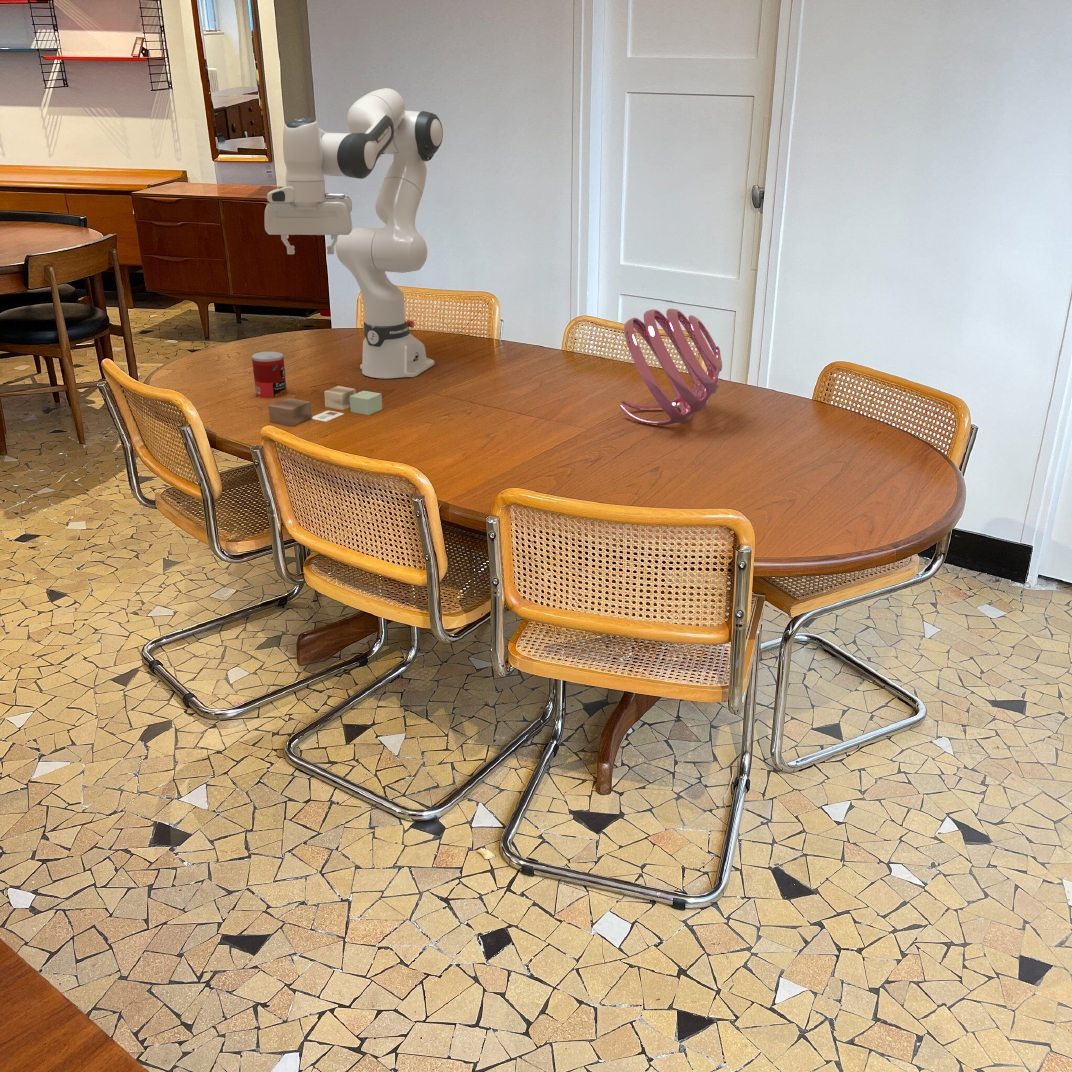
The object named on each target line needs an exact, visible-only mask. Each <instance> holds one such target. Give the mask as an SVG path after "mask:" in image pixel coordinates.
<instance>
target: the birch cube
mask: <svg viewBox="0 0 1072 1072" xmlns="http://www.w3.org/2000/svg"><path fill="white" fill-rule="evenodd" d="M323 393H324V394H323V395H324V406H325V408H331V409H334V410H335V409H336V410H339V411H344V410H347V409H349V408H350V396H351V395H354V394H356V393H357V389H356V388H351V387H348V386H347V387H346V386H341V385H337V386H334V387H332V388H328V389H327V390H323Z"/></svg>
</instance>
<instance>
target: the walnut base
mask: <svg viewBox="0 0 1072 1072" xmlns="http://www.w3.org/2000/svg"><path fill="white" fill-rule="evenodd" d="M311 403H312V402H311V401H307V400H303V399H297V398H291V397H286V398H285V399H281V400H278V401H277V402H274V403H272V404H269V405H267V408H268V415H269V422H270V423H276V424H280V425H284V426H289V427H295V426H297V425H299V424H302V422H306V421H309V420H311V419H310V418H312V417H313V411H312V404H311Z"/></svg>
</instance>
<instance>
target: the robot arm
mask: <svg viewBox="0 0 1072 1072" xmlns="http://www.w3.org/2000/svg"><path fill="white" fill-rule="evenodd" d="M346 118H347V119H346V120H347V127H348V130H349V131H350V132H349V133H347V132H345V133H344V132H326V131H325V130H323V129H321V128H320V127H319V124H318V120H316V119H315V118H313V117H296V118H291V119H289V120H287V121H286V122H285V123H284V126H283V131H282V152H283V153H282V154H283V162H284V165H285V167H286V174H285V186H280V187H278V188H275V189H273V190H270V191H269V192H268V193H267V194H266V199H267V202H269V203H267V204H266V207H265V209H264V230H265V232H266V233H267V234H268V235H270V236H271V235H273V236H274V235H278V236H279V235H280V238H281V239H280V240H281V241H282V243H283V244H284V245H285V247H286V253H287V255H294V254H296V253H295V252H296V251H295V245H291V244H290V242H289V241H288V239H289V236H290V235H291V236H295V235H297V236H300V235H303V236H305V235H306V236H307V235H308V236H314V235H315V236H330V239H331V240H332V243H331V245H328V246H326V250H327V251H326V252H327V255H335V253H336V256H337V259H338V260H339V262H340V263H341V264H342V265H343V266H344V267H346V268H347V269H348V271H349V272H350V273H351V274H352V276H353V277H354V279H355V281H356V282H357V285H358V287H359V289H360V292H361V293H360V294H361V297H362V303H363V312H364V313H363V314H364V322H363V328H362V329H363V335H364V339H363V341H362V363H361V364H360V365H359V368H360V370H361V373H362V375H364V376H367V377H370V378H376V379H398V378H415V377H417V376H418V375H420V374H423V372H425V371H427V370H428V369H429V368H431V367H433V366H434V365H435V360H433V359H431V358H428V357H427V351H426V347H425V344H424V343H423V342H422V341H420V340H419V339H418V338H417V337H415V336H414V335H412V333H411V330H410V328H411V329H413V328H415V327H416V322H415V320H411V319H407V320H406V312H405V311H406V307H405V295H404V293H403V291H402V289H400V287H398V286H397V285H396V284H394V283H393V282H392V281H391V280H390V279H389V277H388V275H387V274H386V272H388V273H399V274H400V273H402V274H403V273H411V272H418V271H419V270H421V269H422V268H423V266H424V265H425V264H426V262H427V257H428V246H427V243H426V241H425V239H424V237H423V236H422V235H421V234H420V233H419V232H418V230H417V228H416V217H417V213H418V209H419V207H420V206H419V205H420V203H421V201H422V196H423V193H424V190H425V186H426V179H427V172H428V169H427V168H428V167H427V165H426V162H429V161H431V160H432V159H433V158H434V155H435V154H436V153H437V152H438V150H439V149H440V147H441V145H442V142H443V138H444V137H443V136H444V133H443V131H444V130H443V125H442V122H441V119H439V117H438V115H437V114H435V113H433V112H430V111H426V110H422V111H416V110H406V104H405V101H404V98H403V97H402V96H401V94H399V92H398V91H396V90H394V89H392V88H389V87H387V88H386V87H384V88H380V89H379V88H378V89H376V90H373V91H370V92H368V93H367V94H365V95H363V96H362V97H360V98H358V99H357V100H356V101H355V102H354V103H352V105H351V106H350V107H349V109H348V111H347V117H346ZM384 154H386V155H387V154H388V155H393V161H392V162H391V164H390V166H389V167H388V168H389V169H388V170H387V172H386V173H385V176H384V178H383V181H382V184H381V186H380V189H379V193H378V195H377V198H376V200H375V205H374V206H375V212H376V213H375V214H376V215H377V217H378V218H379V219H380V221H381V222H383V223H384V224H385V226H384V227H383V228H377V227H374V228H373V227H362V226H361V227H359V226H358V227H353V222H352V217H351V212H352V209H353V205H352V199H351V198H350V197H349V196H347V195H345V193H329V192H328V193H327V192H326V184H325V176H329V177H345V178H347V177H348V178H353V179H358V180H361V179H362V180H363V179H366V178H367V177H368V176H369V175H370V174H371V173H372V171H373V170H374V168H375V166H376V163H377V161H378V159H379V158H380V157H381V155H384Z"/></svg>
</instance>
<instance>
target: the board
mask: <svg viewBox="0 0 1072 1072" xmlns="http://www.w3.org/2000/svg"><path fill="white" fill-rule="evenodd" d="M344 415H345V413H343V412H338V411H333V410H330V409H329V410H325V411H322V412H320V413H318V414H315V415H312V418H310V419H309V420H315V421H319V422H325V423H326V422H329V421H331V420H333V419H336V418H338V417H341V416H344Z"/></svg>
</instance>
